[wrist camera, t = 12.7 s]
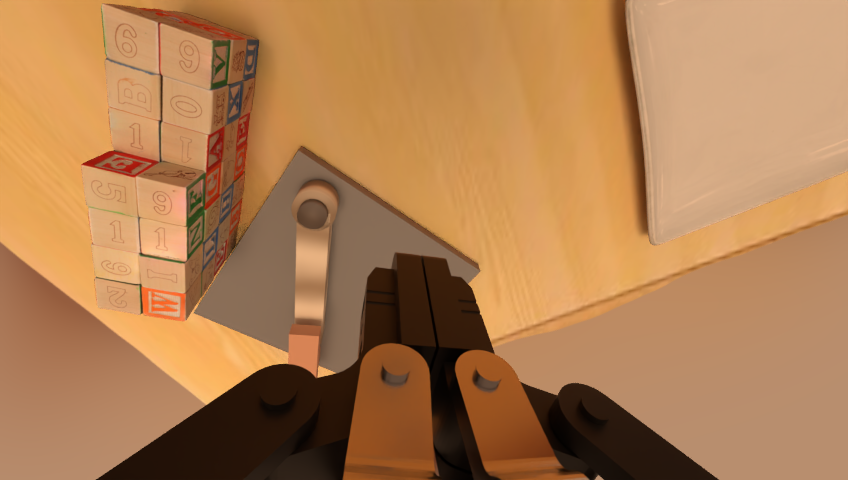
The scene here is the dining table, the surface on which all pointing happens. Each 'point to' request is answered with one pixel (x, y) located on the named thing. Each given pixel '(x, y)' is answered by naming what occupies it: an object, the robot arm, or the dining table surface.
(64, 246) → the dining table surface
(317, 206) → the arm link
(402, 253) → the robot arm
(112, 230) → the stack of blocks
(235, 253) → the board
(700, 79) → the square plate
